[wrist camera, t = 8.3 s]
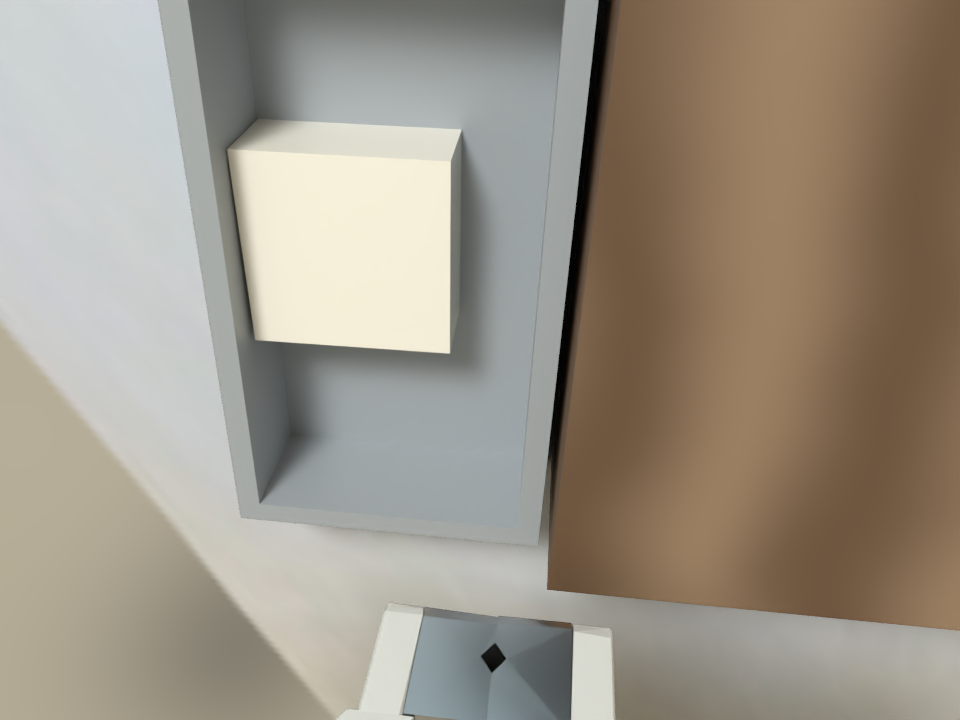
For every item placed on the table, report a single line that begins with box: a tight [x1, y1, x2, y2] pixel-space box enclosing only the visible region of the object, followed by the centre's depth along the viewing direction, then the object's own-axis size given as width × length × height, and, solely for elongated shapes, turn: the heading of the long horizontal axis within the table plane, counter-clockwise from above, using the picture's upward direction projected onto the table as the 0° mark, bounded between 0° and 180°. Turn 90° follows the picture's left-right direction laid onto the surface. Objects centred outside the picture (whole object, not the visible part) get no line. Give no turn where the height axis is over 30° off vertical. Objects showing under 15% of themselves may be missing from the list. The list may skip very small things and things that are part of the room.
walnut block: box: [547, 0, 960, 631], centre depth 19 cm, size 14×16×5 cm
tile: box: [227, 119, 462, 354], centre depth 21 cm, size 5×5×2 cm
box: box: [158, 0, 599, 547], centre depth 20 cm, size 8×16×4 cm, turn 178°
